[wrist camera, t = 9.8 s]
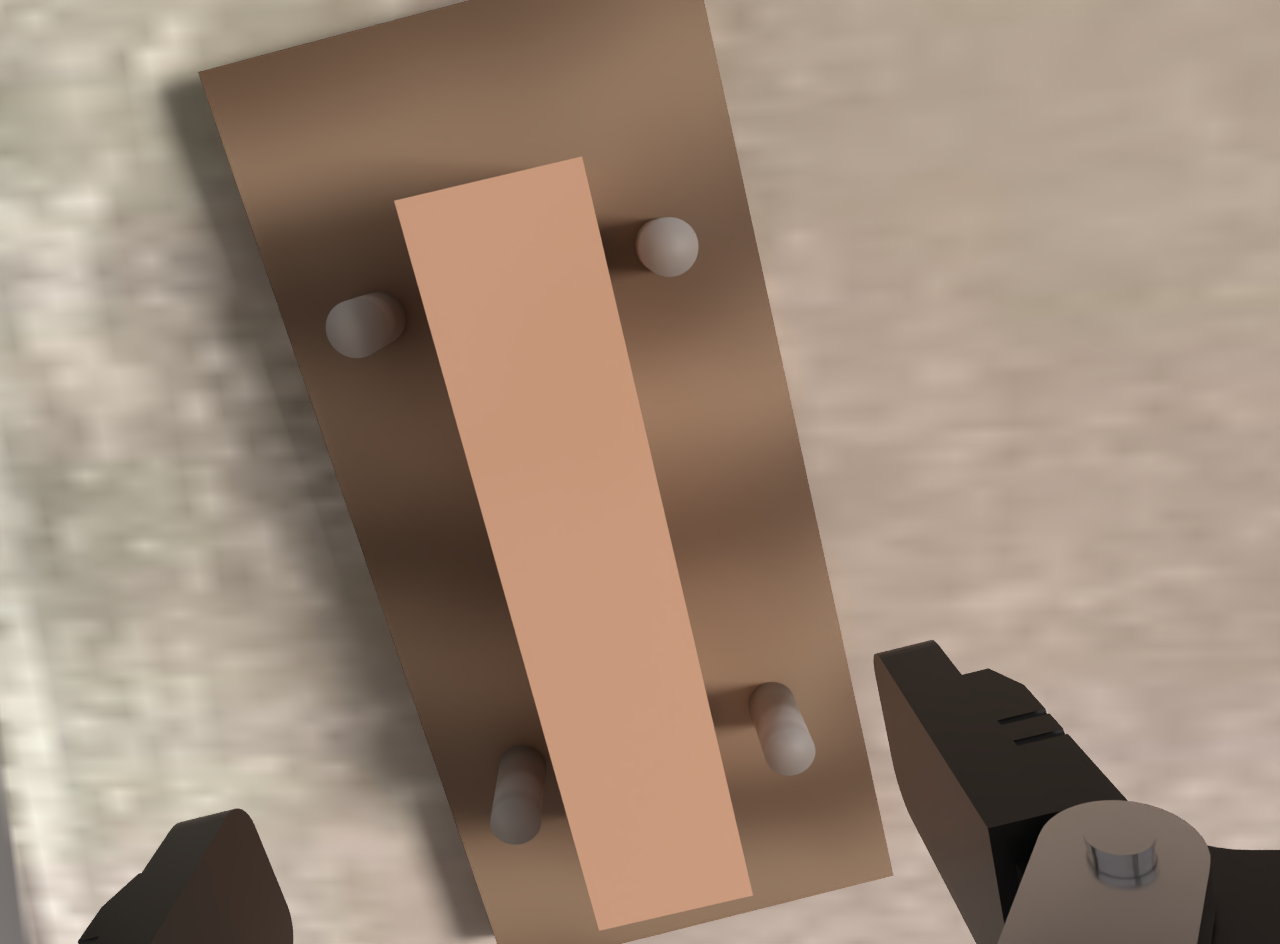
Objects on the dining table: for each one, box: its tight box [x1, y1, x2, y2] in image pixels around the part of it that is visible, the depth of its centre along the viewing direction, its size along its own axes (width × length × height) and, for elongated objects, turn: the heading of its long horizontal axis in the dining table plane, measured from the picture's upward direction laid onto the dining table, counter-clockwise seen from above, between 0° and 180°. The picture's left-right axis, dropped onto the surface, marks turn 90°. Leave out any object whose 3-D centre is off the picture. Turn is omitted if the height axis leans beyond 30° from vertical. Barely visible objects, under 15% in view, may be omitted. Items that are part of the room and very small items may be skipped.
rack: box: [198, 0, 893, 944], centre depth 24 cm, size 24×11×4 cm, turn 14°
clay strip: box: [394, 157, 753, 931], centre depth 22 cm, size 16×4×4 cm, turn 13°
